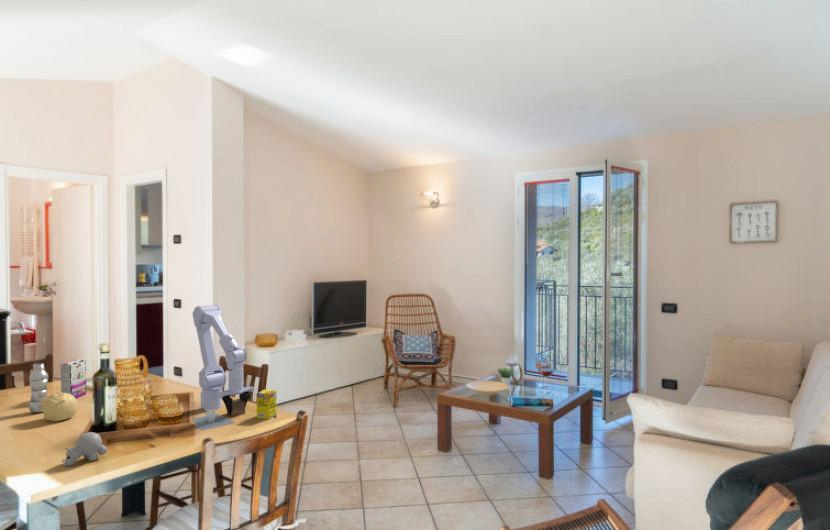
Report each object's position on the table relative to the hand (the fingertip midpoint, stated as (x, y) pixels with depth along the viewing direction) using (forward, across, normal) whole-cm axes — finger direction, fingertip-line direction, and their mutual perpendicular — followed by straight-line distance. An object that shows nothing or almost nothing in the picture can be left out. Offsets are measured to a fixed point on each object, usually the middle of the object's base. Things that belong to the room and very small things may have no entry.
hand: (236, 412), depth 216 cm
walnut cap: (+1, 0, 0) cm, 1 cm away
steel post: (0, -12, -3) cm, 12 cm away
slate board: (+1, -12, -3) cm, 12 cm away
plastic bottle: (+2, -56, +62) cm, 84 cm away
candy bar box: (+2, -40, +79) cm, 89 cm away
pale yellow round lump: (+2, -52, +45) cm, 69 cm away
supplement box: (+2, +7, -12) cm, 14 cm away
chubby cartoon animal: (+2, -56, -11) cm, 58 cm away
